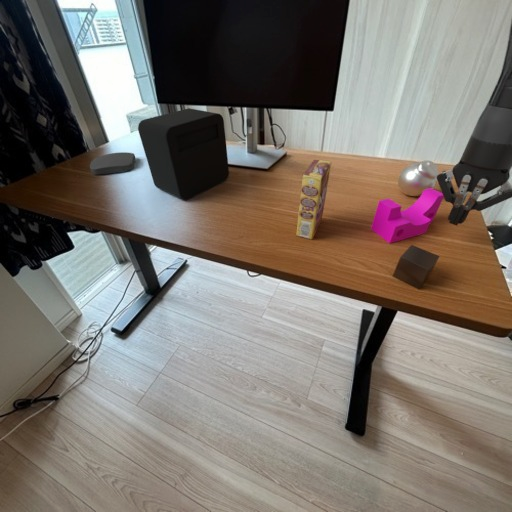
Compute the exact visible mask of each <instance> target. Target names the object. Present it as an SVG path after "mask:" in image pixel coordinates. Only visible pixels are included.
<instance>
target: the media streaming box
mask: <svg viewBox="0 0 512 512" xmlns="http://www.w3.org/2000/svg"><path fill="white" fill-rule="evenodd" d="M136 161H137V158H136V155H135V153H132V152H126V151H125V152H121V151H120V152H113V153H107V154H103V155H101V156H98V157H95V158H93V159H92V160H91V162H90V164H89V170H90V172H91V174H92V175H108V174H116V173H123V172H128V171H131V170H133V169H134V168H135V166H136Z"/></svg>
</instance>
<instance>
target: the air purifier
mask: <svg viewBox="0 0 512 512" xmlns="http://www.w3.org/2000/svg"><path fill="white" fill-rule="evenodd" d="M137 125H138V126H137V129H138V135H139V138H140V141H141V144H142V148H143V152H144V154H145V159H146V161H147V165H148V168H149V172H150V174H151V178H152V181H153V184H154V186H155V188H157V189H158V190H161V191H163V192H165V193H167V194H170V195H172V196H174V197H176V198H179V199H180V200H182V201H188V200H190V199H192V198H195V197H196V196H198V195H200V194H203V193H204V192H207V191H208V190H210V189H212V188H214V187H217V186H218V185H220V184H222V183H224V182H226V181H227V180H228V178H229V177H230V176H229V175H230V168H229V158H228V149H227V139H226V129H225V128H226V127H225V120H224V117H223V115H222V114H220V113H217V112H212V111H207V110H200V109H195V108H185V109H181V110H176V111H172V112H168V113H165V114H161V115H157V116H153V117H148V118H145V119H142V120H141V121H139V123H138V124H137Z"/></svg>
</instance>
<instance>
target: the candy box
mask: <svg viewBox="0 0 512 512" xmlns="http://www.w3.org/2000/svg"><path fill="white" fill-rule="evenodd" d="M331 167H332V161H329V160H321V159H313V160H312V161H311V163H310V164H309V166H308V168H306V170H305V172H304V173H302V181H301V189H300V196H299V198H300V199H299V207H298V215H297V225H296V233H295V234H296V235H295V236H296V237H299V238H304V239H307V240H313V239H314V236H315V234H316V232H317V230H318V228H319V226H320V225H321V222H322V221H323V214H324V208H325V204H326V203H325V202H326V198H327V197H326V196H327V192H328V185H329V179H330V172H331V169H332V168H331Z"/></svg>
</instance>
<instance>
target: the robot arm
mask: <svg viewBox="0 0 512 512" xmlns="http://www.w3.org/2000/svg"><path fill="white" fill-rule="evenodd" d="M509 23H510V24H509V29H508V35H507V43H506V48H505V53H504V57H503V64H502V66H501V71H500V74H499V77H498V79H497V81H496V83H495V85H494V88H493V89H492V92H491V94H490V96H489V99H488V100H487V103H486V105H485V106H484V109H483V110H482V112H481V114H480V115H479V117H478V120H477V121H476V123H475V126H474V128H473V130H472V132H471V135H470V137H469V139H468V141H467V144H466V145H465V148H464V150H463V152H462V155H461V156H460V159H459V161H458V162H457V163H456V164H455V165H454V166H453V167H452V169H451V168H450V169H449V170H442V171H441V172H439V173H438V175H437V183H438V185H439V188H440V190H441V191H440V192H441V193H442V194H443V196H444V198H443V199H444V201H445V202H446V203H451V205H452V207H451V210H450V212H449V214H448V216H447V221H449V222H448V223H449V224H451V225H454V226H458V225H459V224H460V225H462V224H463V223H464V222H465V221H466V219H467V217H468V216H469V214H470V212H471V211H477V212H481V211H484V210H486V209H488V208H490V207H493V206H495V205H498V204H499V203H503V202H504V201H507V200H509V199H512V184H511V182H510V181H509V179H510V177H511V175H510V173H511V172H510V171H511V169H512V17H511V18H510V22H509ZM453 179H454V181H455V184H456V187H457V188H458V191H457V194H456V191H455V188H454V186H453V182H452V181H453ZM497 188H498V189H497ZM495 189H497V190H496V193H494V194H493V195H491V196H488V197H486V198H484V199H482V200H479V198H480V196H481V195H485V194H488V193H490V192H491V191H493V190H495ZM469 193H471V194H470V196H469V198H468V199H467V197H468V194H469ZM466 199H467V200H466ZM465 201H466V202H465ZM464 203H465V204H464Z"/></svg>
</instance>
